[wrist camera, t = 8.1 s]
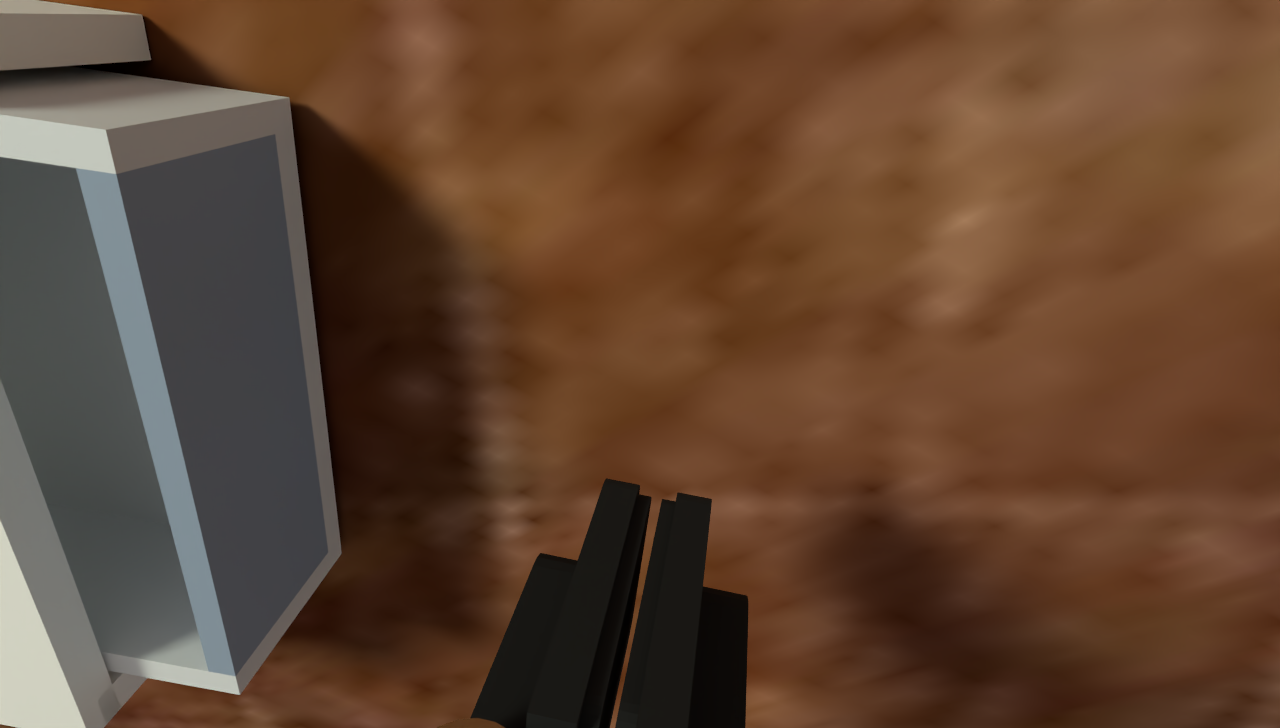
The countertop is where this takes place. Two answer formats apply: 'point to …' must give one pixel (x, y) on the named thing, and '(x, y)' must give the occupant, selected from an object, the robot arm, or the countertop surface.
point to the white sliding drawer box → (166, 362)
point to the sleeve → (3, 474)
